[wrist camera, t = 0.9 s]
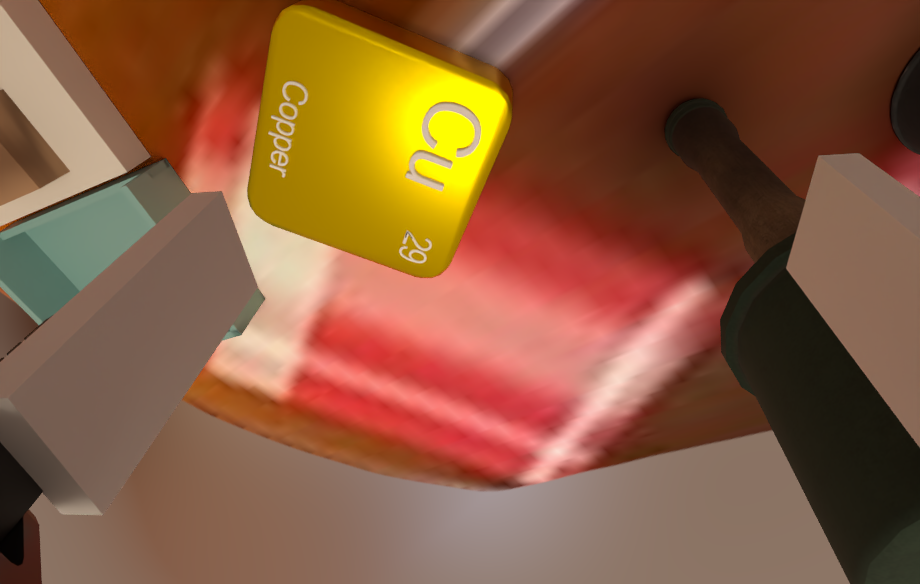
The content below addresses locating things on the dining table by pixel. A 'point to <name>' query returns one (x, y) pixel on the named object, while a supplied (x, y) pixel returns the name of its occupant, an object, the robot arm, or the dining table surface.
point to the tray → (89, 241)
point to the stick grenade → (806, 367)
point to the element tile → (374, 136)
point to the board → (60, 107)
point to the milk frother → (908, 106)
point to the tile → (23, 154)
